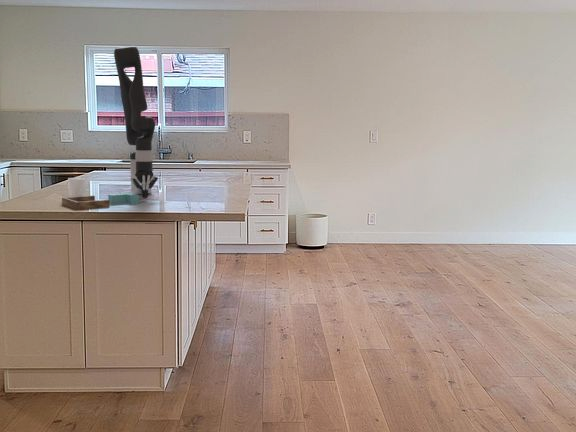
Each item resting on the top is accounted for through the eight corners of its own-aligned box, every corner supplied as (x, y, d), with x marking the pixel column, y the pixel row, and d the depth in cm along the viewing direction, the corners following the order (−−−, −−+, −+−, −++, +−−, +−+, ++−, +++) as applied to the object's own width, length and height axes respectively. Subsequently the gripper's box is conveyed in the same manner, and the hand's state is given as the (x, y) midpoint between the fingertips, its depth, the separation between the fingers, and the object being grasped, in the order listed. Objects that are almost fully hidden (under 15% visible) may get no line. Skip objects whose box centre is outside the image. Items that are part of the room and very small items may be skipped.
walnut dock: (93, 202, 277) (93, 195, 276) (109, 206, 264) (109, 200, 263) (62, 204, 268) (61, 197, 268) (76, 209, 255) (76, 202, 254)
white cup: (90, 199, 285) (89, 178, 283) (79, 201, 278) (78, 179, 276) (76, 198, 288) (75, 177, 286) (64, 200, 280) (64, 178, 279)
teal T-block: (127, 200, 284) (127, 192, 284) (139, 203, 275) (139, 194, 274) (104, 202, 277) (104, 193, 277) (115, 205, 268) (115, 196, 268)
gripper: (153, 159, 287) (154, 196, 290) (126, 160, 279) (127, 198, 282) (161, 160, 281) (161, 197, 284) (134, 161, 273) (134, 199, 276)
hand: (144, 197), depth 283 cm, fingers closed
